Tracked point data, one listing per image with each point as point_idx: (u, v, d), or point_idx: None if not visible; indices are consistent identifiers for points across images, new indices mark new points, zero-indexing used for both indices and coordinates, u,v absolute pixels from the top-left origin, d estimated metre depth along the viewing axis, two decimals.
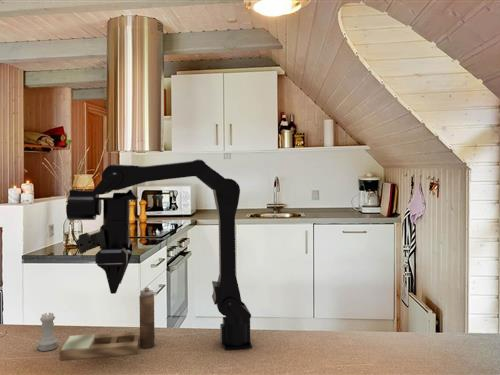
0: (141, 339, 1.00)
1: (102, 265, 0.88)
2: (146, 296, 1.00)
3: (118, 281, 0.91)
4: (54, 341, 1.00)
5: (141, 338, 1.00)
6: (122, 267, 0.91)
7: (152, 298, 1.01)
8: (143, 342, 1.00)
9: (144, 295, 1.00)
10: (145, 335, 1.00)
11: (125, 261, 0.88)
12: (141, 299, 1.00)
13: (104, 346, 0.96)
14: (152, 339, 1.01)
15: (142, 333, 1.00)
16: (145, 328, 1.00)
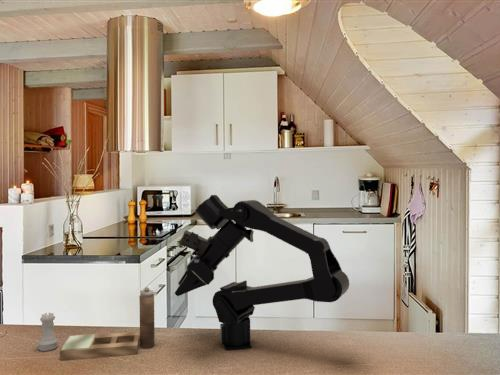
0: (141, 339, 1.00)
1: (190, 270, 0.93)
2: (146, 296, 1.00)
3: (188, 290, 0.96)
4: (54, 341, 1.00)
5: (141, 338, 1.00)
6: (200, 284, 0.95)
7: (152, 298, 1.01)
8: (143, 342, 1.00)
9: (144, 295, 1.00)
10: (145, 335, 1.00)
11: (208, 283, 0.93)
12: (141, 299, 1.00)
13: (104, 346, 0.96)
14: (152, 339, 1.01)
15: (142, 333, 1.00)
16: (145, 328, 1.00)
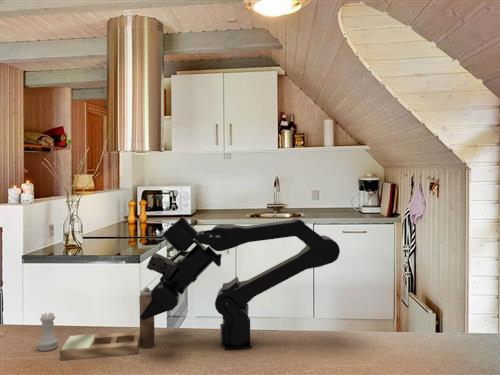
0: (141, 339, 1.00)
1: (154, 296, 0.93)
2: (146, 296, 1.00)
3: (152, 314, 0.96)
4: (54, 341, 1.00)
5: (141, 338, 1.00)
6: (165, 308, 0.95)
7: None
8: (143, 342, 1.00)
9: (144, 295, 1.00)
10: (145, 335, 1.00)
11: (171, 309, 0.93)
12: (141, 299, 1.00)
13: (104, 346, 0.96)
14: (152, 339, 1.01)
15: (142, 333, 1.00)
16: (145, 328, 1.00)
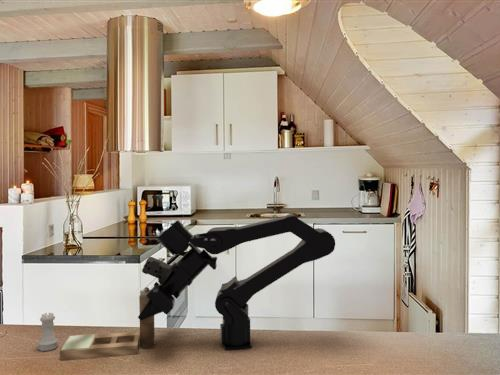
0: (141, 339, 1.00)
1: None
2: (146, 296, 1.00)
3: (150, 315, 0.98)
4: (54, 341, 1.00)
5: (141, 338, 1.00)
6: None
7: None
8: (142, 342, 1.00)
9: (144, 295, 1.00)
10: (145, 335, 1.00)
11: (167, 313, 0.93)
12: (141, 299, 1.00)
13: (104, 346, 0.96)
14: (152, 339, 1.01)
15: (142, 333, 1.00)
16: (145, 328, 1.00)
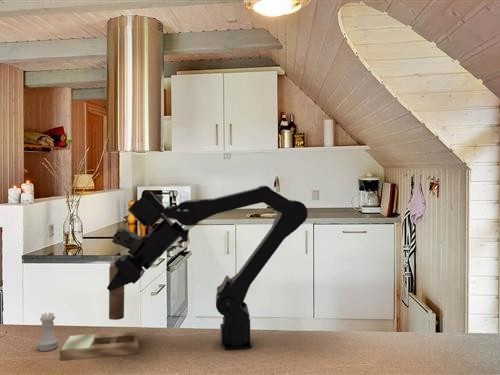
0: (110, 310, 0.99)
1: None
2: (116, 267, 0.98)
3: (119, 285, 0.97)
4: (54, 341, 1.00)
5: (110, 309, 0.99)
6: None
7: None
8: (111, 313, 0.98)
9: (114, 266, 0.98)
10: (114, 306, 0.98)
11: (134, 282, 0.91)
12: (111, 270, 0.99)
13: (104, 346, 0.96)
14: (121, 311, 0.99)
15: (111, 304, 0.98)
16: (114, 299, 0.98)
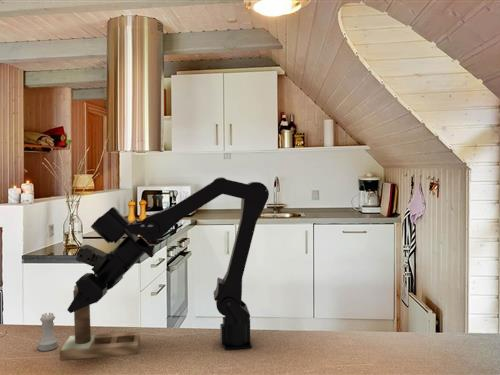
0: (75, 334, 0.97)
1: (79, 287, 0.91)
2: None
3: (80, 307, 0.93)
4: (54, 341, 1.00)
5: (75, 333, 0.97)
6: (92, 301, 0.92)
7: None
8: (77, 337, 0.97)
9: (77, 289, 0.97)
10: (79, 331, 0.97)
11: (96, 301, 0.90)
12: (74, 293, 0.97)
13: (104, 346, 0.96)
14: (87, 334, 0.98)
15: (76, 328, 0.97)
16: (79, 323, 0.97)
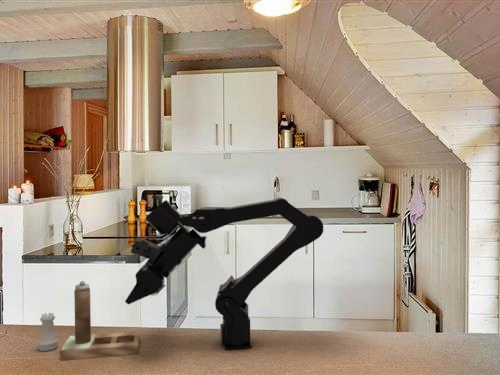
0: (76, 334, 0.97)
1: (138, 279, 0.93)
2: (81, 290, 0.97)
3: (138, 298, 0.95)
4: (54, 341, 1.00)
5: (76, 333, 0.97)
6: (150, 291, 0.95)
7: (87, 292, 0.98)
8: (77, 337, 0.97)
9: (78, 289, 0.97)
10: (79, 330, 0.97)
11: (156, 291, 0.92)
12: (75, 293, 0.97)
13: (104, 346, 0.96)
14: (87, 334, 0.98)
15: (77, 328, 0.97)
16: (79, 323, 0.97)
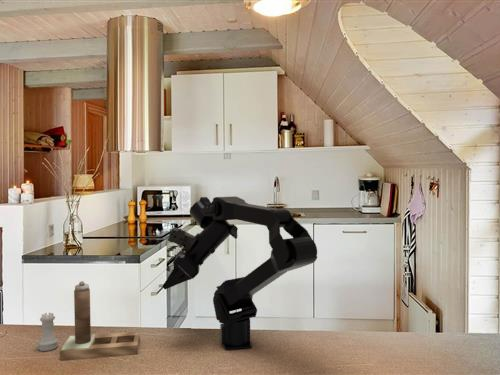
0: (76, 334, 0.97)
1: (176, 265, 0.99)
2: (80, 290, 0.97)
3: (174, 284, 1.01)
4: (54, 341, 1.00)
5: (76, 333, 0.97)
6: (186, 278, 1.00)
7: (87, 292, 0.98)
8: (77, 337, 0.97)
9: (78, 289, 0.97)
10: (79, 330, 0.97)
11: (193, 277, 0.98)
12: (75, 293, 0.97)
13: (104, 346, 0.96)
14: (87, 334, 0.98)
15: (77, 328, 0.97)
16: (79, 323, 0.97)
